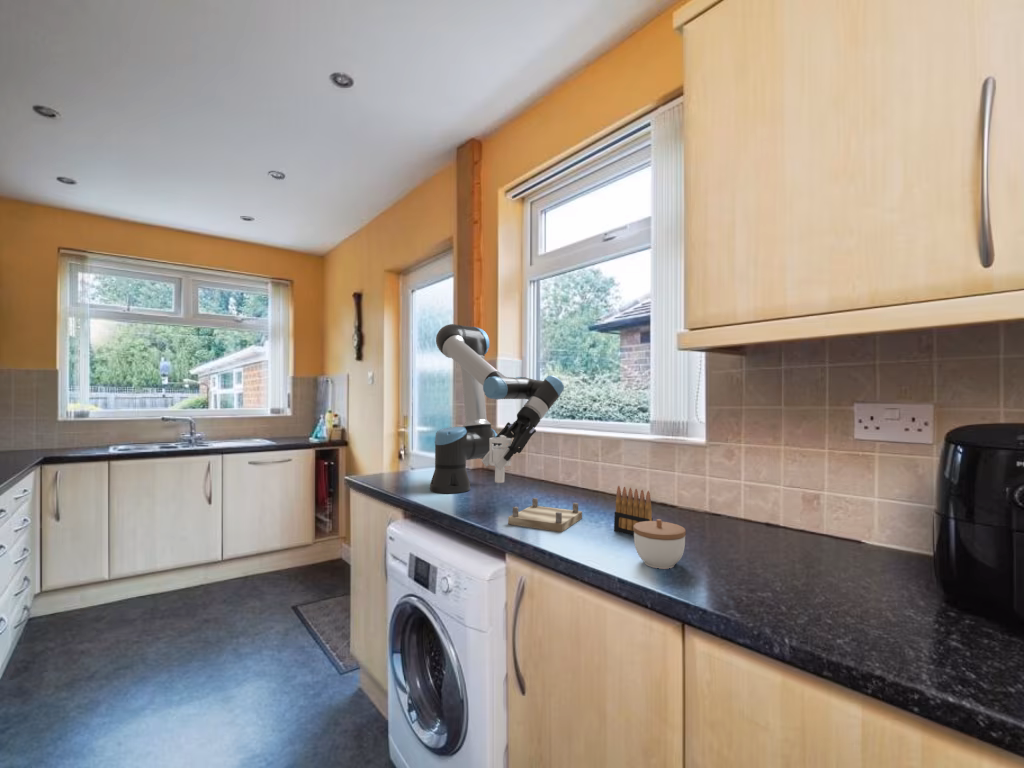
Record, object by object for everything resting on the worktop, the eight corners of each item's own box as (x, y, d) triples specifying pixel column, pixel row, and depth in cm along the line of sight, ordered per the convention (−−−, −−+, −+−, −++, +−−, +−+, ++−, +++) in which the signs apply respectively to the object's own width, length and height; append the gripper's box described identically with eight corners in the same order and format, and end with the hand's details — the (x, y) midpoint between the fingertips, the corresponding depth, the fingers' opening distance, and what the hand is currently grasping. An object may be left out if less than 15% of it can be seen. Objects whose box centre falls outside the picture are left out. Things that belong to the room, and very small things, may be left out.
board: (532, 511, 146) (532, 497, 146) (582, 518, 138) (582, 502, 138) (508, 524, 131) (508, 507, 132) (561, 532, 124) (561, 514, 124)
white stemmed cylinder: (492, 484, 147) (494, 436, 147) (485, 480, 153) (486, 434, 153) (513, 483, 149) (514, 435, 149) (505, 479, 156) (506, 433, 156)
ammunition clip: (653, 538, 119) (653, 490, 119) (649, 539, 118) (649, 491, 118) (617, 529, 127) (617, 484, 127) (613, 530, 126) (613, 485, 126)
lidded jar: (694, 563, 101) (694, 519, 101) (671, 577, 93) (671, 529, 94) (648, 552, 108) (648, 511, 109) (623, 563, 101) (623, 519, 101)
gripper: (557, 423, 152) (516, 478, 143) (520, 419, 168) (480, 468, 159) (545, 406, 149) (502, 462, 140) (508, 404, 165) (467, 453, 156)
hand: (490, 465), depth 149 cm, fingers closed on white stemmed cylinder, 7 cm apart
